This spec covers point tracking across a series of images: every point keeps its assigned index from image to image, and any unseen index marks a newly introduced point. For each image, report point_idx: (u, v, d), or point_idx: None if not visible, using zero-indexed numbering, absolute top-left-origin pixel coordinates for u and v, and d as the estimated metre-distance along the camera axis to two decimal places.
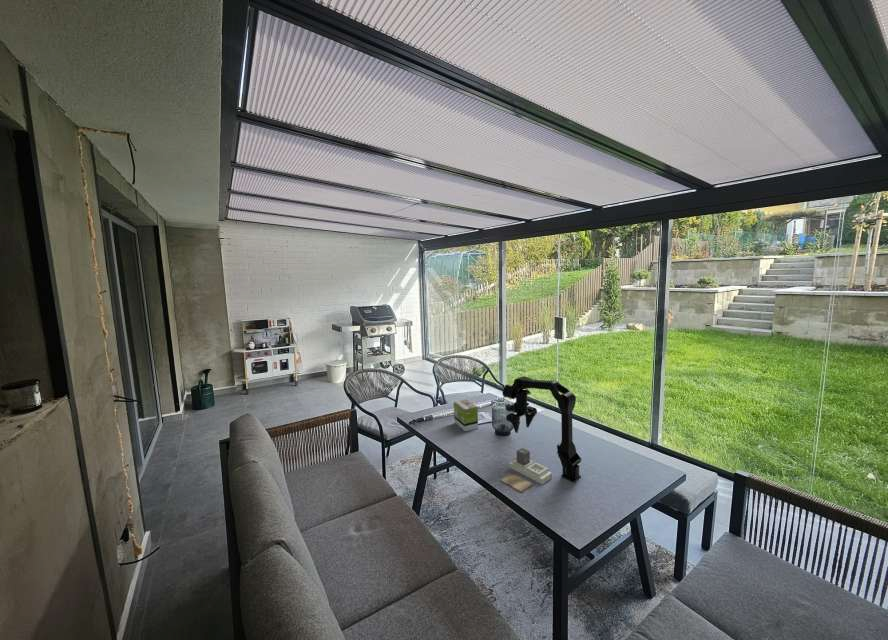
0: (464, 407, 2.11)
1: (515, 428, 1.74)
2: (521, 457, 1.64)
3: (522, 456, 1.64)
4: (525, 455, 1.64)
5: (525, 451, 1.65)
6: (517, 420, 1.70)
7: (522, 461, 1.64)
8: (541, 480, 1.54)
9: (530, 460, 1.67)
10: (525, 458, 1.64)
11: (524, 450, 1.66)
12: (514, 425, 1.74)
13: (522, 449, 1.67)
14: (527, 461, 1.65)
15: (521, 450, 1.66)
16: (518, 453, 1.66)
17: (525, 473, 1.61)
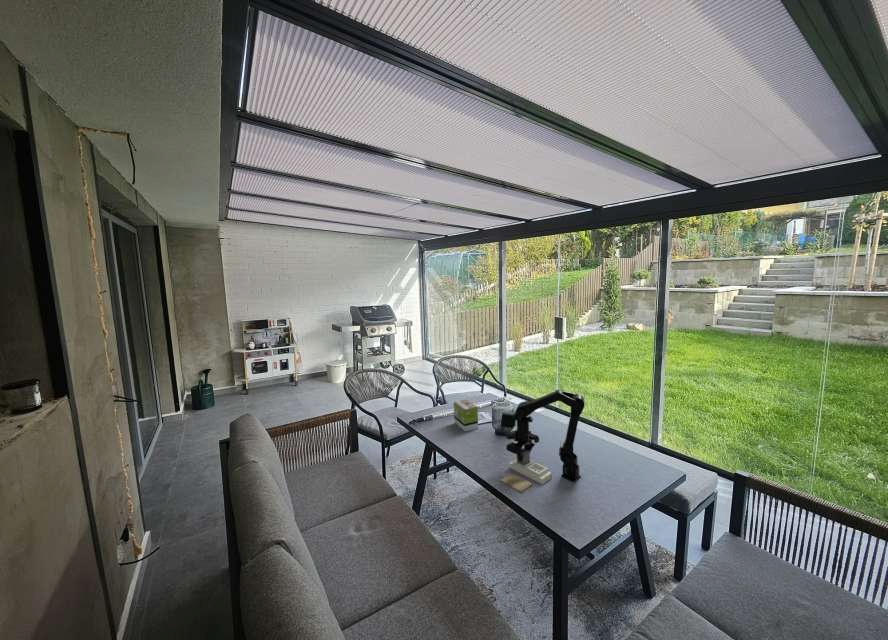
0: (464, 407, 2.11)
1: (519, 457, 1.64)
2: None
3: None
4: (525, 455, 1.64)
5: (525, 451, 1.65)
6: (518, 451, 1.58)
7: (522, 461, 1.64)
8: (541, 480, 1.54)
9: (530, 460, 1.67)
10: (525, 458, 1.64)
11: (524, 450, 1.66)
12: (518, 453, 1.64)
13: None
14: (527, 461, 1.65)
15: None
16: None
17: (525, 473, 1.61)
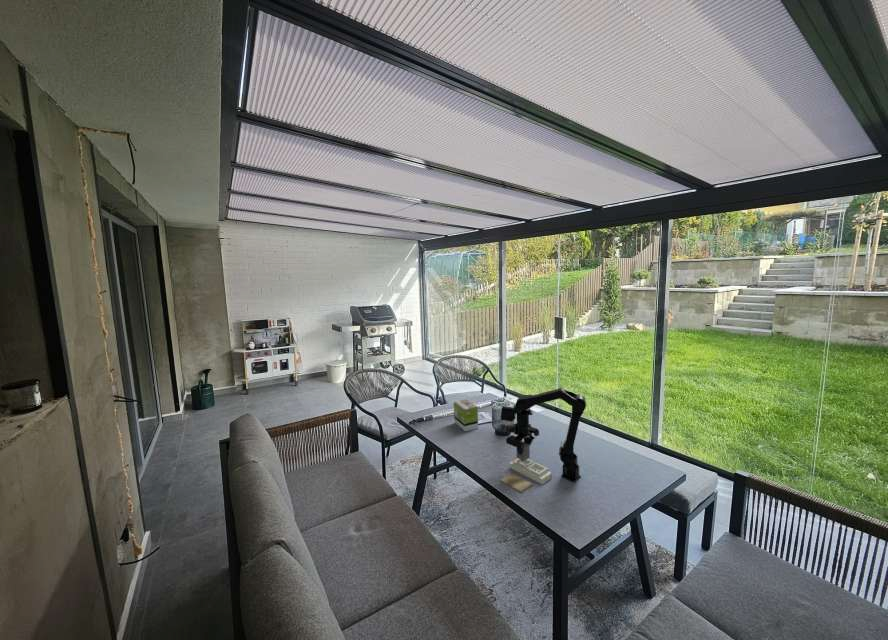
0: (464, 407, 2.11)
1: (519, 450, 1.64)
2: None
3: None
4: (525, 448, 1.63)
5: (525, 444, 1.65)
6: (518, 443, 1.58)
7: (522, 454, 1.64)
8: (541, 480, 1.54)
9: (530, 460, 1.67)
10: (525, 451, 1.64)
11: (524, 443, 1.66)
12: (518, 447, 1.64)
13: (522, 442, 1.67)
14: (527, 454, 1.65)
15: None
16: None
17: (525, 473, 1.61)
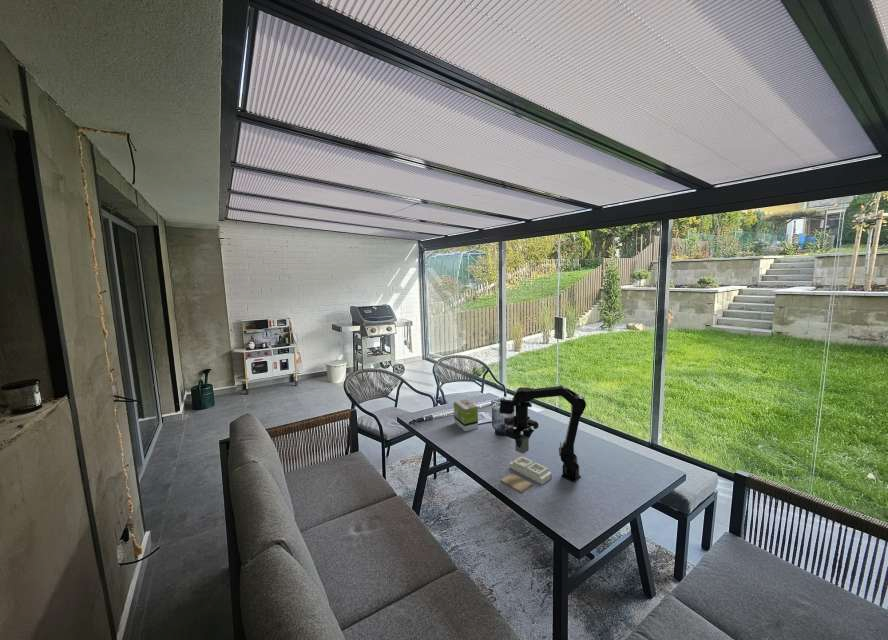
0: (464, 407, 2.11)
1: (517, 442, 1.61)
2: None
3: (521, 442, 1.61)
4: (524, 440, 1.61)
5: (524, 437, 1.63)
6: (517, 436, 1.56)
7: (521, 447, 1.62)
8: (541, 480, 1.54)
9: (530, 460, 1.67)
10: (524, 443, 1.61)
11: (523, 436, 1.64)
12: (516, 439, 1.61)
13: None
14: (526, 447, 1.62)
15: None
16: None
17: (525, 473, 1.61)
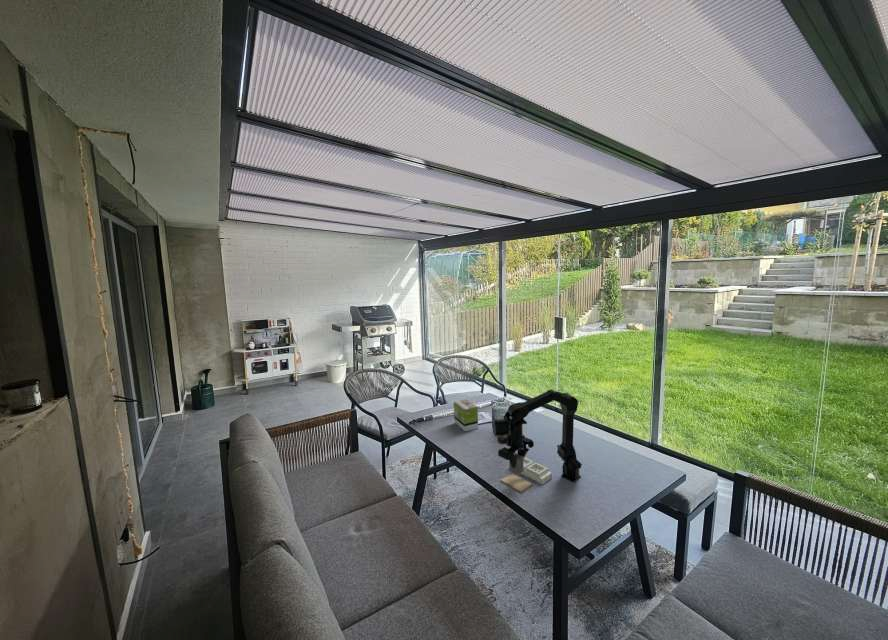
0: (464, 407, 2.11)
1: (512, 463, 1.52)
2: None
3: None
4: (518, 460, 1.52)
5: (518, 457, 1.54)
6: (511, 456, 1.47)
7: (515, 467, 1.53)
8: (541, 480, 1.54)
9: (530, 460, 1.67)
10: (519, 464, 1.53)
11: (517, 455, 1.55)
12: (511, 459, 1.52)
13: (515, 454, 1.56)
14: (520, 467, 1.54)
15: None
16: None
17: (525, 473, 1.61)
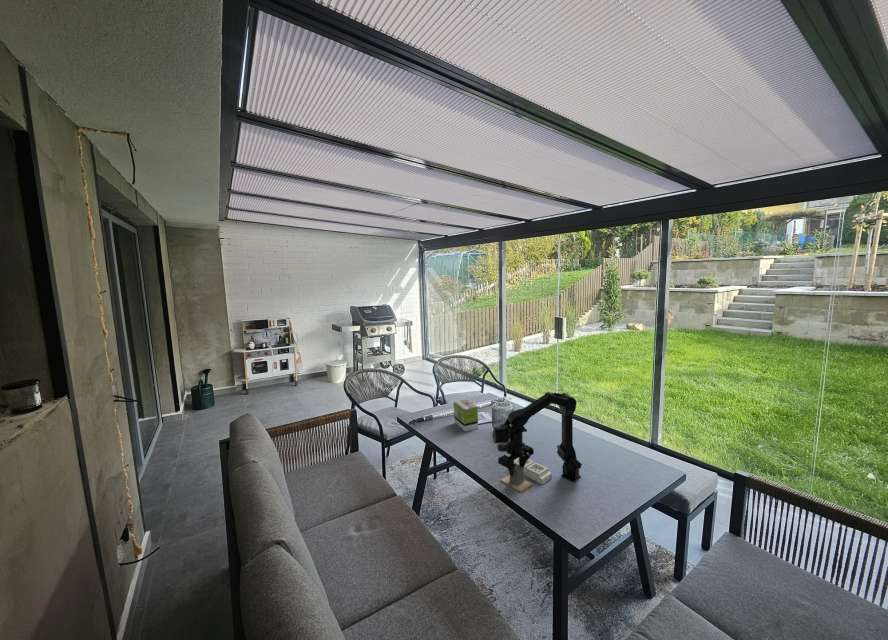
0: (464, 407, 2.11)
1: (510, 471, 1.52)
2: (514, 474, 1.54)
3: (515, 473, 1.53)
4: (518, 472, 1.53)
5: (518, 468, 1.54)
6: (511, 464, 1.47)
7: (515, 478, 1.53)
8: (541, 480, 1.54)
9: (530, 460, 1.67)
10: (519, 475, 1.53)
11: (517, 466, 1.55)
12: (509, 468, 1.52)
13: None
14: (520, 478, 1.54)
15: None
16: None
17: (525, 473, 1.61)
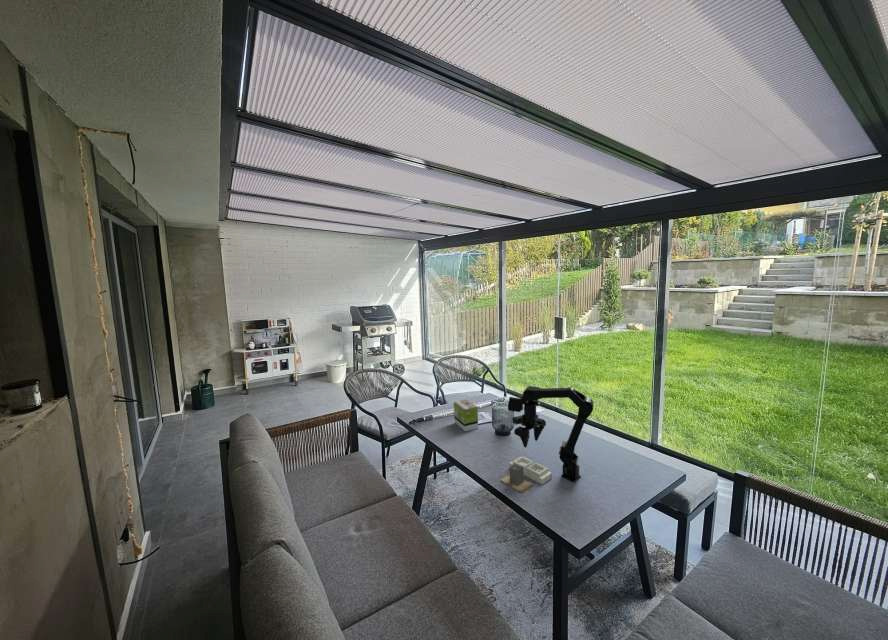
0: (464, 407, 2.11)
1: (524, 442, 1.62)
2: (514, 474, 1.54)
3: (515, 473, 1.53)
4: (518, 472, 1.53)
5: (518, 468, 1.54)
6: (527, 434, 1.58)
7: (515, 478, 1.53)
8: (541, 480, 1.54)
9: (530, 460, 1.67)
10: (519, 475, 1.53)
11: (517, 466, 1.55)
12: (523, 439, 1.62)
13: (515, 465, 1.56)
14: (520, 478, 1.54)
15: (514, 466, 1.55)
16: (511, 470, 1.55)
17: (525, 473, 1.61)
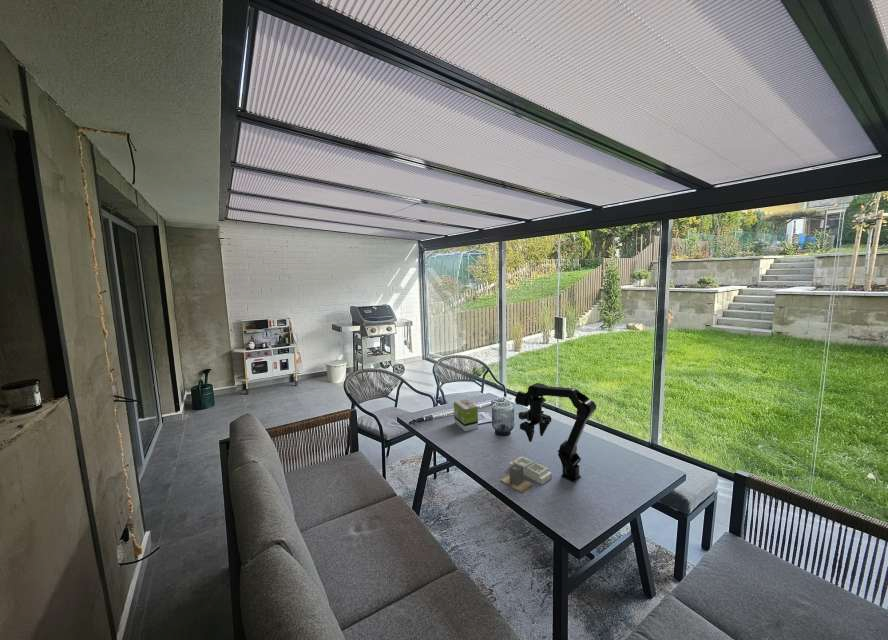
0: (464, 407, 2.11)
1: (529, 437, 1.66)
2: (514, 474, 1.54)
3: (515, 473, 1.53)
4: (518, 472, 1.53)
5: (518, 468, 1.54)
6: (532, 429, 1.62)
7: (515, 478, 1.53)
8: (541, 480, 1.54)
9: (530, 460, 1.67)
10: (519, 475, 1.53)
11: (517, 466, 1.55)
12: (528, 434, 1.67)
13: (515, 465, 1.56)
14: (520, 478, 1.54)
15: (514, 466, 1.55)
16: (511, 470, 1.55)
17: (525, 473, 1.61)
